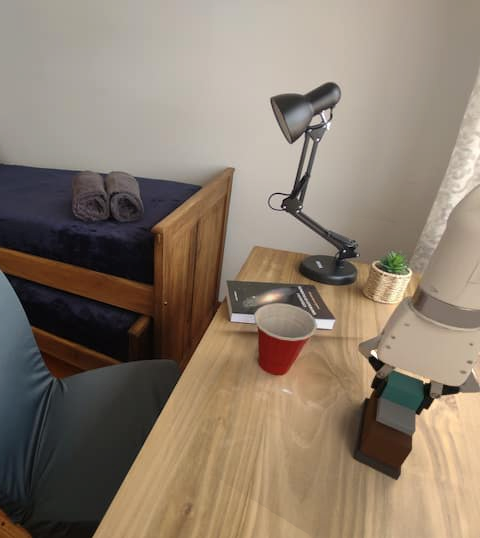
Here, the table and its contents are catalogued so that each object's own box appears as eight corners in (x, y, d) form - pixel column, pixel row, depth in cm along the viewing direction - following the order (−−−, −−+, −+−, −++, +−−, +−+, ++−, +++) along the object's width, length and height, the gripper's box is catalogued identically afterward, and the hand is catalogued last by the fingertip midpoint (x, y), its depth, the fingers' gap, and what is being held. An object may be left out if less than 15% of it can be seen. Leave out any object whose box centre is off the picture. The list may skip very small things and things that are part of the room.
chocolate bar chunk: (363, 402, 64) (375, 377, 61) (400, 418, 61) (416, 392, 58) (353, 459, 55) (367, 432, 52) (397, 480, 52) (414, 453, 49)
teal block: (380, 382, 59) (389, 364, 57) (413, 394, 57) (423, 376, 55) (375, 420, 53) (385, 402, 51) (412, 436, 50) (424, 417, 48)
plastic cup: (239, 345, 78) (249, 300, 72) (291, 348, 77) (305, 302, 71) (250, 384, 68) (262, 336, 62) (309, 387, 67) (327, 339, 61)
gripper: (533, 313, 45) (464, 410, 54) (375, 273, 53) (339, 362, 63) (548, 346, 39) (469, 447, 49) (370, 296, 48) (331, 390, 57)
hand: (396, 399), depth 55 cm, fingers closed on teal block, 4 cm apart
